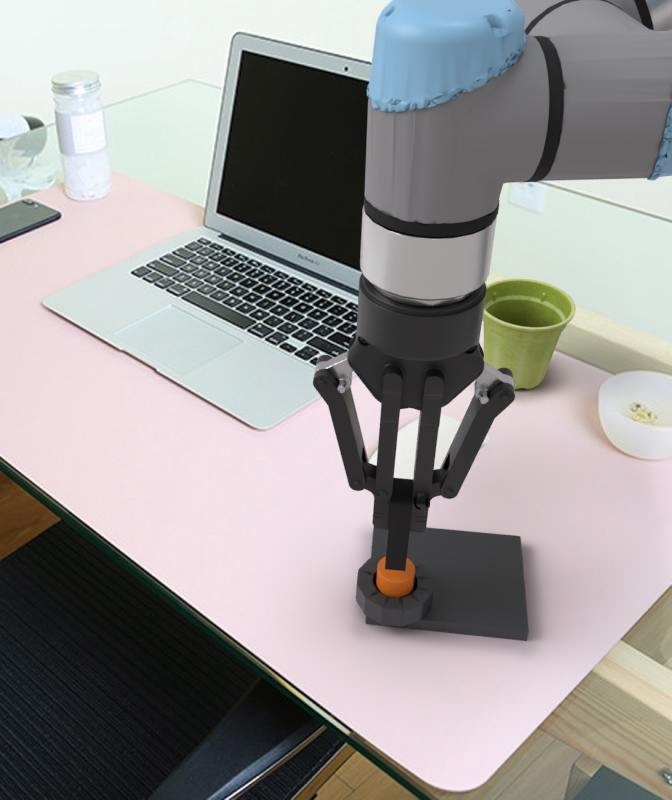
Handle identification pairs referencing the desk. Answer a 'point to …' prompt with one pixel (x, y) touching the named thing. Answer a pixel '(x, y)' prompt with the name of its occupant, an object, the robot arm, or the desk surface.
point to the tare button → (395, 580)
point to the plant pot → (524, 327)
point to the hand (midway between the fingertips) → (395, 556)
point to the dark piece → (452, 585)
